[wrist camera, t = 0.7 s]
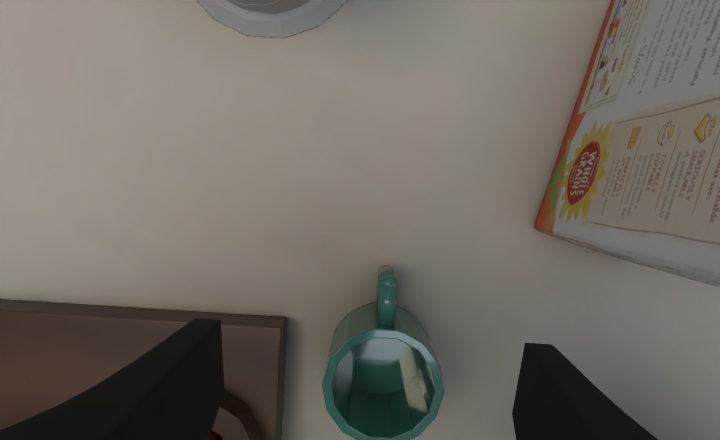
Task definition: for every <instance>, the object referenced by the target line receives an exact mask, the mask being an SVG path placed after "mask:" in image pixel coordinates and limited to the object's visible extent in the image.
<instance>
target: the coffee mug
mask: <svg viewBox="0 0 720 440" xmlns="http://www.w3.org/2000/svg"><path fill="white" fill-rule="evenodd" d="M396 299H397V280H396V276H395V273H394V270H393V268H392V267H391V266H388V265H384V266H382V267H380V269H379V271H378V283H377V299H376V303H371V304H367V305H363V306H361V307H359V308H357V309H355V310H353V311H352V312H350V313H349V314H348V315H347V316H346V317H345V318H344V319H343V320H342V321H341V322H340V324H339V325H338V327H337V328H336V330H335V333H334V336H333V339H332V343H331V346H330V350H329V355H328V359H327V364H326V369H325V373H324V378H323V384H322V386H323V392H324V398H325V404H326V409H327V411H328V413H329V414H330V416H331V417H332V418H333V420H334V421H335V422H336V424H337V425H338V427H339V428H340V429H341V431H343V432H344V433H345V434H347V435H349V436H351V437H353V438H354V439H356V440H411V439H413V438H416V437H417V436H419V435H420V434H421V433H422V432H423V431H424V430H425V428H426V427H427V426H428V425H429V424H430V423H431V422H432V421H433V420H434V419H435V418H436V416H437V413H438V410H439V406H440V403H441V400H442V397H443V394H444V388H443V382H442V375H441V369H440V365H439V363H438V360H437V358H436V355H435V353H434V350H433V348H432V345H431V343H430V340H429V338H428V335H427V333H426V332H425V331H424V329H423V327H422V325H421V324H420V323H419V321H418V320H417V319H416V318H415V317H414V316H413V315H412V314H411V313H409V312H408V311H407V310H405V309H403V308H401V307H399V306H396Z"/></svg>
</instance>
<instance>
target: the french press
mask: <svg viewBox="0 0 720 440" xmlns="http://www.w3.org/2000/svg"><path fill="white" fill-rule="evenodd" d="M197 1H198V2H199V3H200V4H201V5H202V7H203V8H204V9H205V10H206V11H207V12H208V13H209V15H210V16H211V17H212V18H213V19H214V20H217V21H219V22H221V23H223V24H225V25H227V26H229V27H231V28H233V29H235V30H237V31H239V32H241V33H243V34H245V35H247V36H260V37H276V38H286V37H289V36H291V35H294V34H297V33H300V32H303V31H306V30H309V29H311V28H314V27H317V26H320V25H321V24H322V23H323V22H324V21H325V20H326V19H327V18H329V17H330V16H331V15H332V14H333V13H334V12H335V11H336V10H337V9H339V8H340V7H341V6H342V5H343V4H344V3H345V2H346V1H347V0H197Z"/></svg>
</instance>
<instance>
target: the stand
mask: <svg viewBox="0 0 720 440" xmlns="http://www.w3.org/2000/svg"><path fill="white" fill-rule="evenodd" d="M195 318H203V319H217V320H221V333H222V352H223V371H224V393H223V397H222V400H221V403H220V407H219V410H218V413H217V416H216V419H215V422H214V425H213V428H212V430H211V433H212V434H213V435H214V436H216V437H217V439H218V440H281V432H282V413H283V394H284V375H285V356H286V337H287V317H274V316H258V315H242V314H226V313H210V312H194V311H178V310H162V309H146V308H130V307H114V306H98V305H82V304H66V303H50V302H34V301H18V300H2V299H0V430H2V429H5V428H7V427H10V426H12V425H14V424H16V423H19V422H21V421H23V420H26V419H28V418H30V417H32V416H35V415H37V414H39V413H42V412H44V411H46V410H48V409H51V408H53V407H55V406H57V405H59V404H61V403H63V402H65V401H67V400H69V399H71V398H73V397H75V396H76V395H78V394H80V393H82V392H84V391H86V390H88V389H89V388H91V387H93V386H95V385H96V384H98V383H100V382H102V381H103V380H105V379H106V378H108V377H109V376H111V375H113V374H114V373H116V372H117V371H119V370H121V369H122V368H124V367H125V366H127V365H128V364H130V363H132V362H133V361H135V360H136V359H138V358H139V357H141V356H142V355H144V354H145V353H146V352H148V351H149V350H151V349H152V348H154V347H155V346H156V345H158V344H159V343H161V342H162V341H164V340H165V339H166V338H168V337H169V336H170V335H172V334H173V333H175V332H176V331H177V330H179V329H180V328H182V327H183V326H184V325H186V324H187V323H189V322H190V321H192V320H193V319H195Z"/></svg>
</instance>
